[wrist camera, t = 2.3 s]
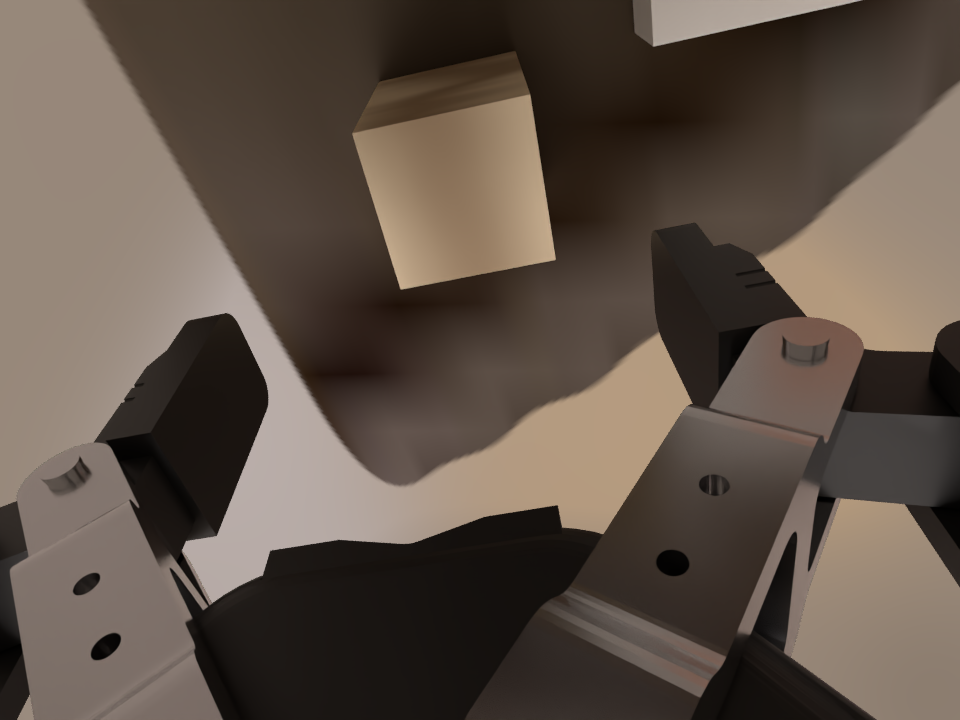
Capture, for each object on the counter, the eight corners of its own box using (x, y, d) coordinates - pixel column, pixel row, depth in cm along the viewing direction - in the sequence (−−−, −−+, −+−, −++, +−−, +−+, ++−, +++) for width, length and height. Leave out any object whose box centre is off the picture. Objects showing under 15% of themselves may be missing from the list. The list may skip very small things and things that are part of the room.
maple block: (515, 50, 21) (530, 94, 16) (537, 185, 23) (555, 259, 18) (379, 81, 21) (352, 133, 16) (414, 210, 24) (400, 289, 19)
